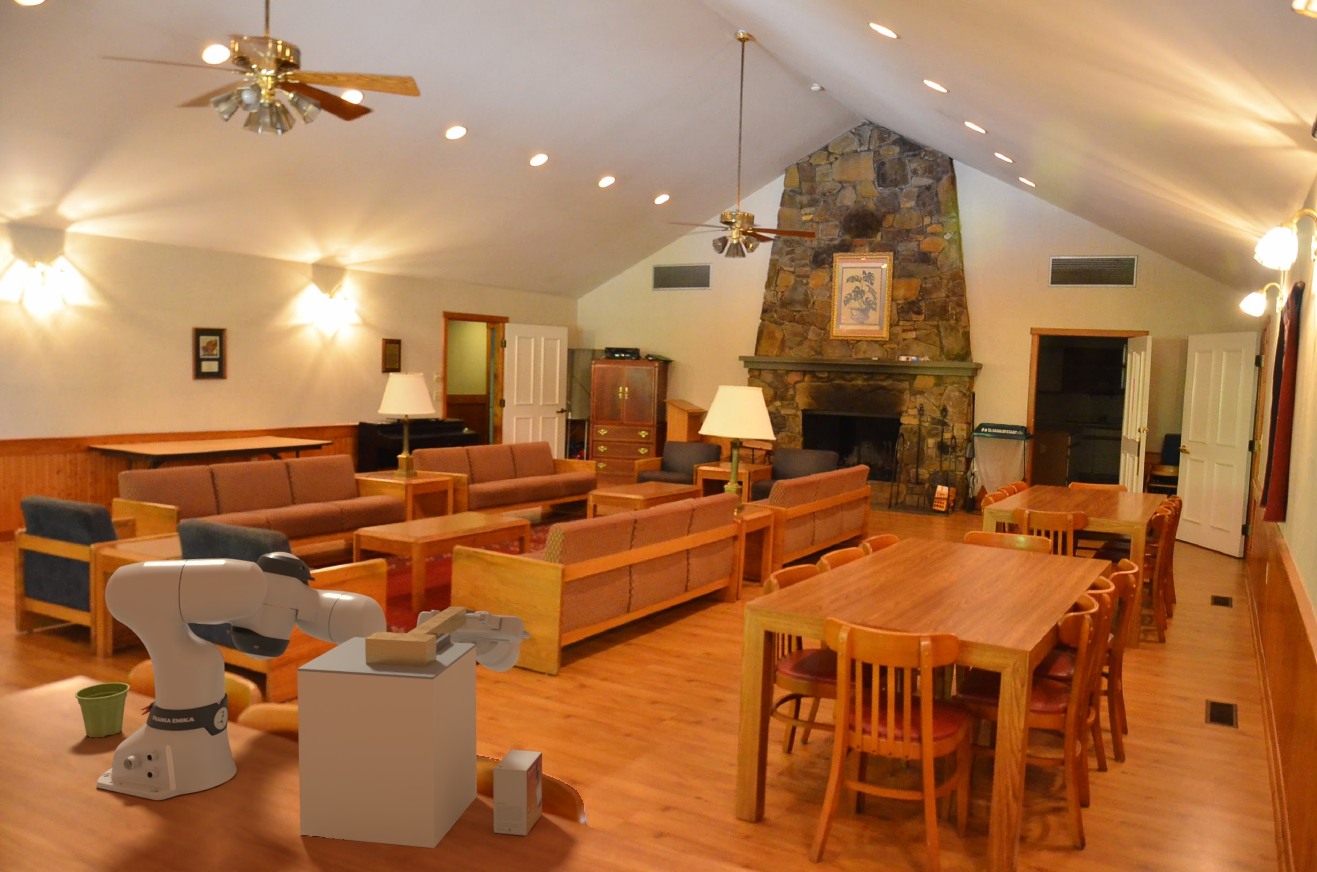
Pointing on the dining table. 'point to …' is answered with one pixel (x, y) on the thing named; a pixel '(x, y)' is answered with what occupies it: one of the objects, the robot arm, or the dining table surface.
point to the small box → (517, 792)
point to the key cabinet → (387, 745)
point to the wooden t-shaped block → (413, 641)
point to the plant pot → (103, 708)
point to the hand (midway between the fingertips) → (458, 615)
